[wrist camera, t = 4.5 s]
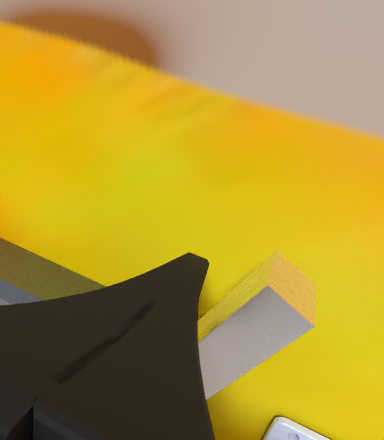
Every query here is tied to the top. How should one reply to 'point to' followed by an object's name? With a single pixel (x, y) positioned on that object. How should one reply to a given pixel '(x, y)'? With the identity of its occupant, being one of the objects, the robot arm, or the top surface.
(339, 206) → the top surface
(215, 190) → the top surface
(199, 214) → the top surface
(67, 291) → the grey piece
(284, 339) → the steel lever
